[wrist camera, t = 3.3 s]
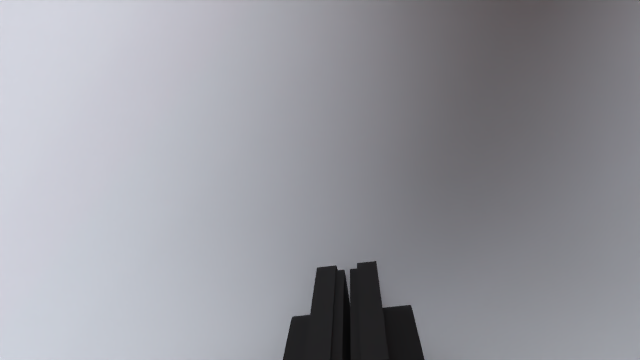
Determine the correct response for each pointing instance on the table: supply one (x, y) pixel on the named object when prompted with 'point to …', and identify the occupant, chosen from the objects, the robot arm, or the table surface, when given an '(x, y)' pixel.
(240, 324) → the table surface
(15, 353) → the table surface
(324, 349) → the robot arm
